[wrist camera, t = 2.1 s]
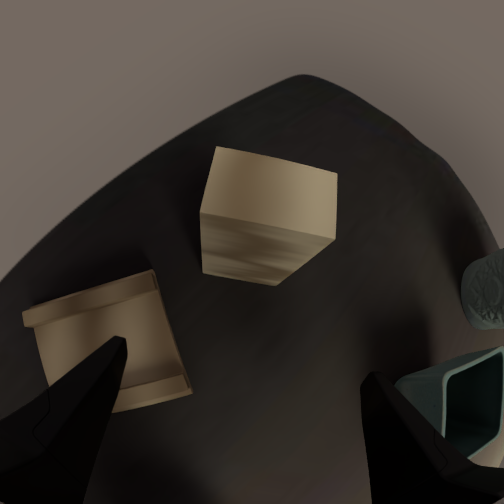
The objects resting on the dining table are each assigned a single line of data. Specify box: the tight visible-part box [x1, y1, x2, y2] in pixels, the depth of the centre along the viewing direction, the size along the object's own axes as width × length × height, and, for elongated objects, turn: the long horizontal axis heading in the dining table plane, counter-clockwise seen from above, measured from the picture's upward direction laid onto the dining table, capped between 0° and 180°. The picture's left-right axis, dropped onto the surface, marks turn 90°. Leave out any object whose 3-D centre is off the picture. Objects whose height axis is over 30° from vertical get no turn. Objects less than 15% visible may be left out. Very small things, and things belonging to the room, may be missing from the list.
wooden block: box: [200, 146, 337, 286], centre depth 19 cm, size 6×4×12 cm, turn 83°
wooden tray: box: [22, 269, 193, 413], centre depth 19 cm, size 12×10×2 cm
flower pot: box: [394, 346, 504, 459], centre depth 19 cm, size 9×9×9 cm
